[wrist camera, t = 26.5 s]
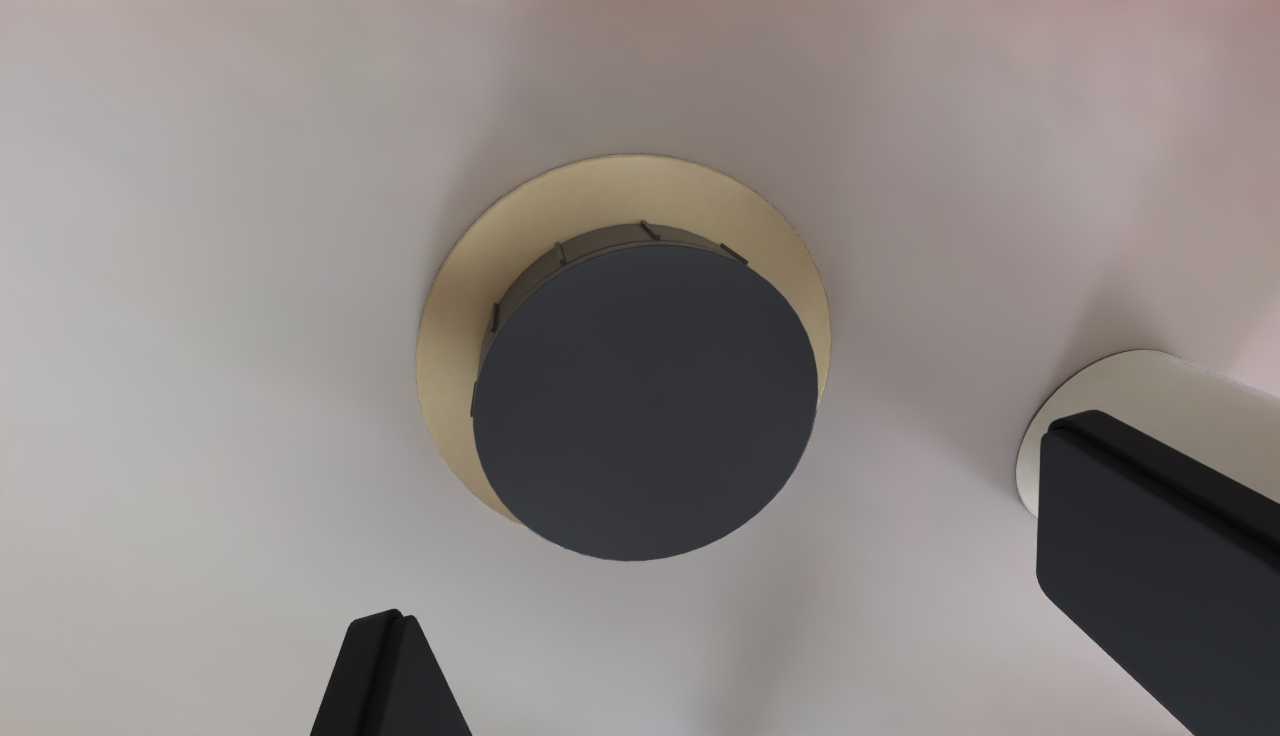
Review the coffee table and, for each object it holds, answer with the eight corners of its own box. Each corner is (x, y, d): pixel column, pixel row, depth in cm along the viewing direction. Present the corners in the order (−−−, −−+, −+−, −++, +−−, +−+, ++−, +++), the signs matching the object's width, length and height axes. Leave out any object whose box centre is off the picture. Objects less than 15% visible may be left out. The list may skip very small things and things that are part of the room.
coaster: (743, 559, 19) (748, 568, 18) (383, 506, 16) (380, 516, 16) (888, 225, 15) (897, 229, 15) (468, 88, 13) (467, 88, 12)
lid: (520, 180, 13) (521, 196, 11) (824, 270, 15) (873, 298, 13) (449, 478, 16) (439, 537, 13) (720, 522, 18) (748, 580, 15)
